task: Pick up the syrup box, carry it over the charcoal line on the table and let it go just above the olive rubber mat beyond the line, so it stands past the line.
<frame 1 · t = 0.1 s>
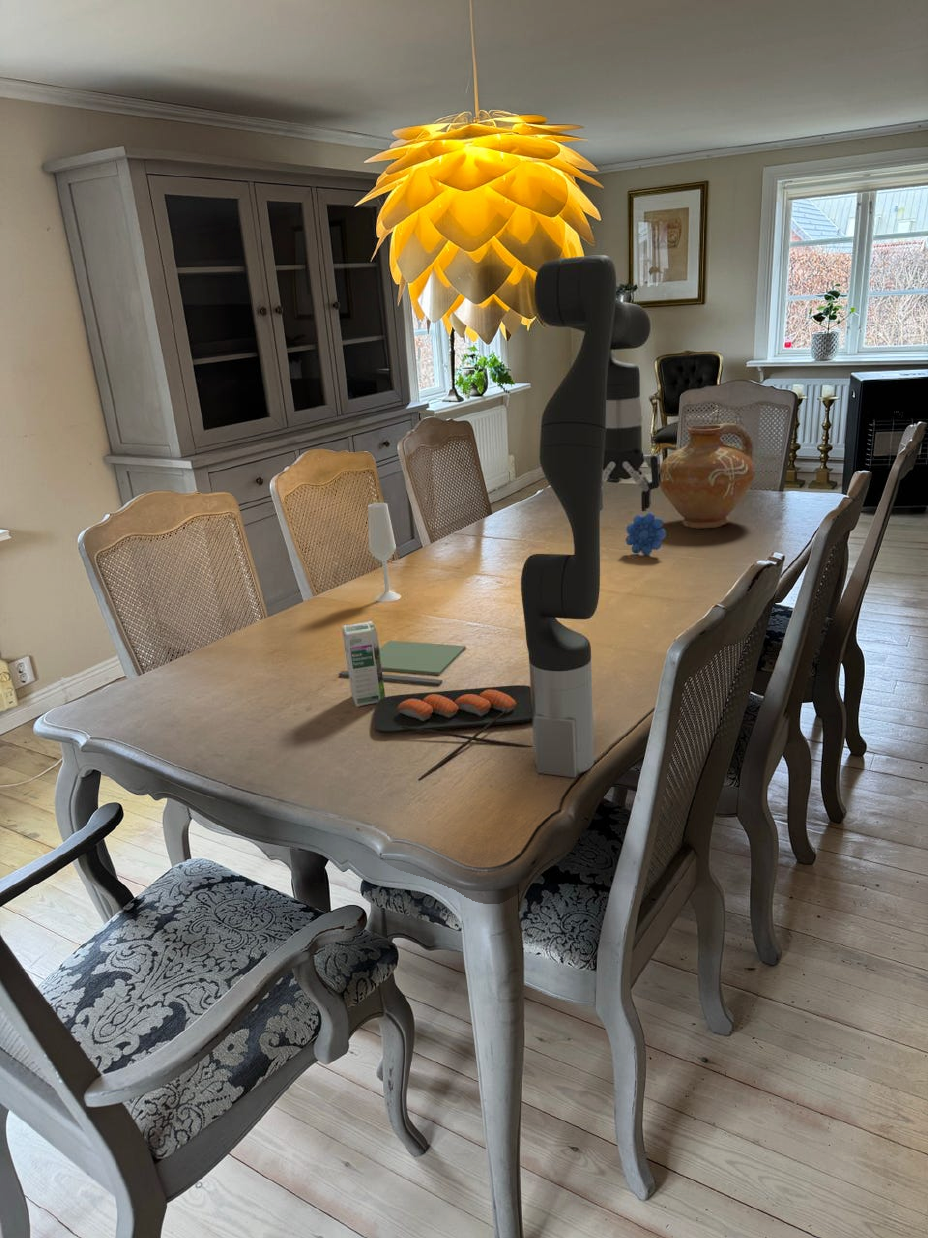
hand: (622, 510, 163), 29 cm above the table, tool pointing down, fingers open, 8 cm apart
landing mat: (413, 658, 179), on the table
syrup box: (368, 699, 162), on the table
jug: (704, 524, 263), on the table
sushi plate: (458, 737, 146), on the table
champagne flute: (388, 598, 219), on the table
foul line: (389, 679, 169), on the table
blue bumpy cluster: (647, 555, 237), on the table
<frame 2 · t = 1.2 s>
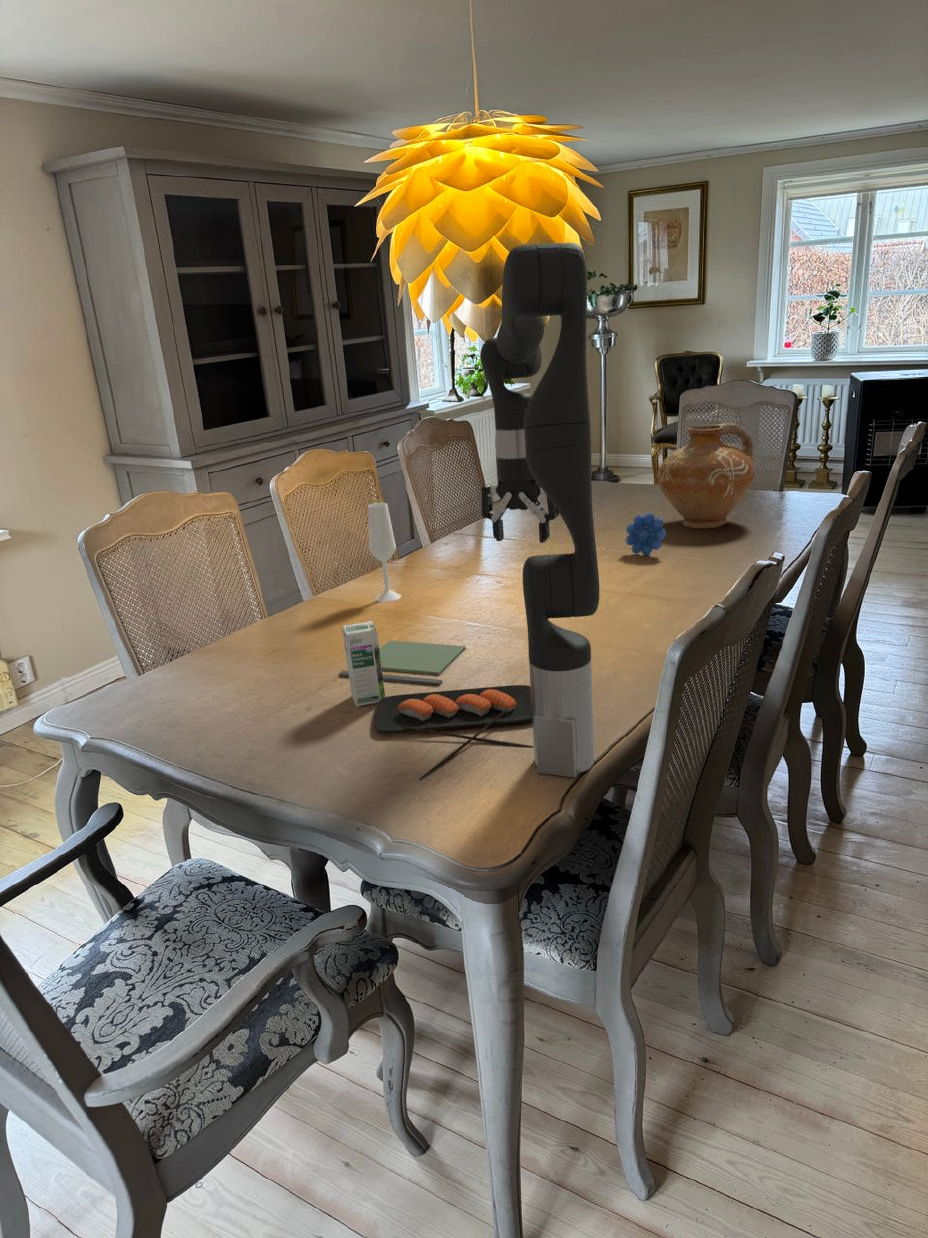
hand: (521, 541, 159), 26 cm above the table, tool pointing down, fingers open, 8 cm apart
nothing on the table moved.
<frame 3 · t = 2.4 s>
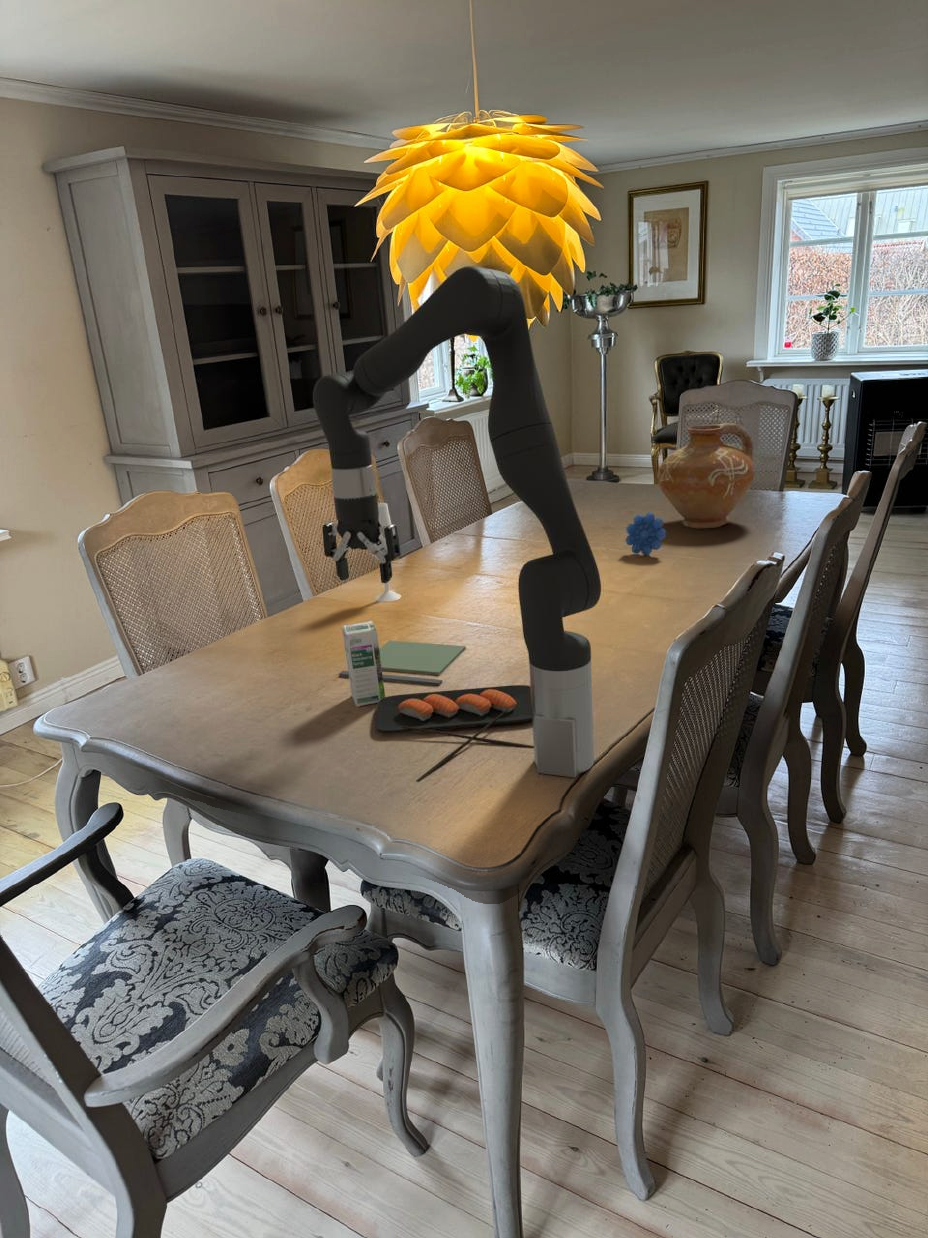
hand: (365, 580, 155), 23 cm above the table, tool pointing down, fingers open, 8 cm apart
nothing on the table moved.
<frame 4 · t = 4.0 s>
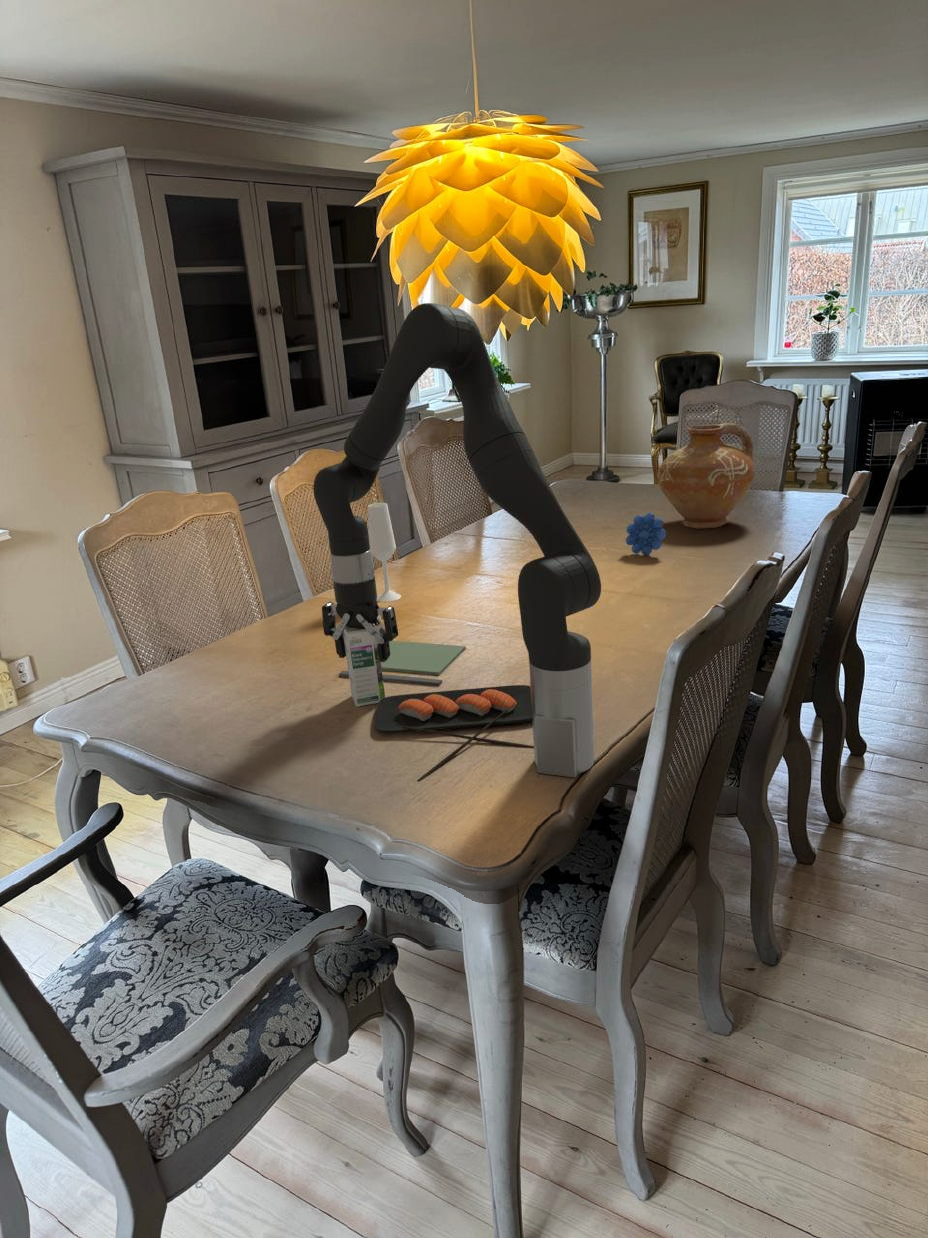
hand: (363, 658, 159), 8 cm above the table, tool pointing down, fingers open, 8 cm apart
nothing on the table moved.
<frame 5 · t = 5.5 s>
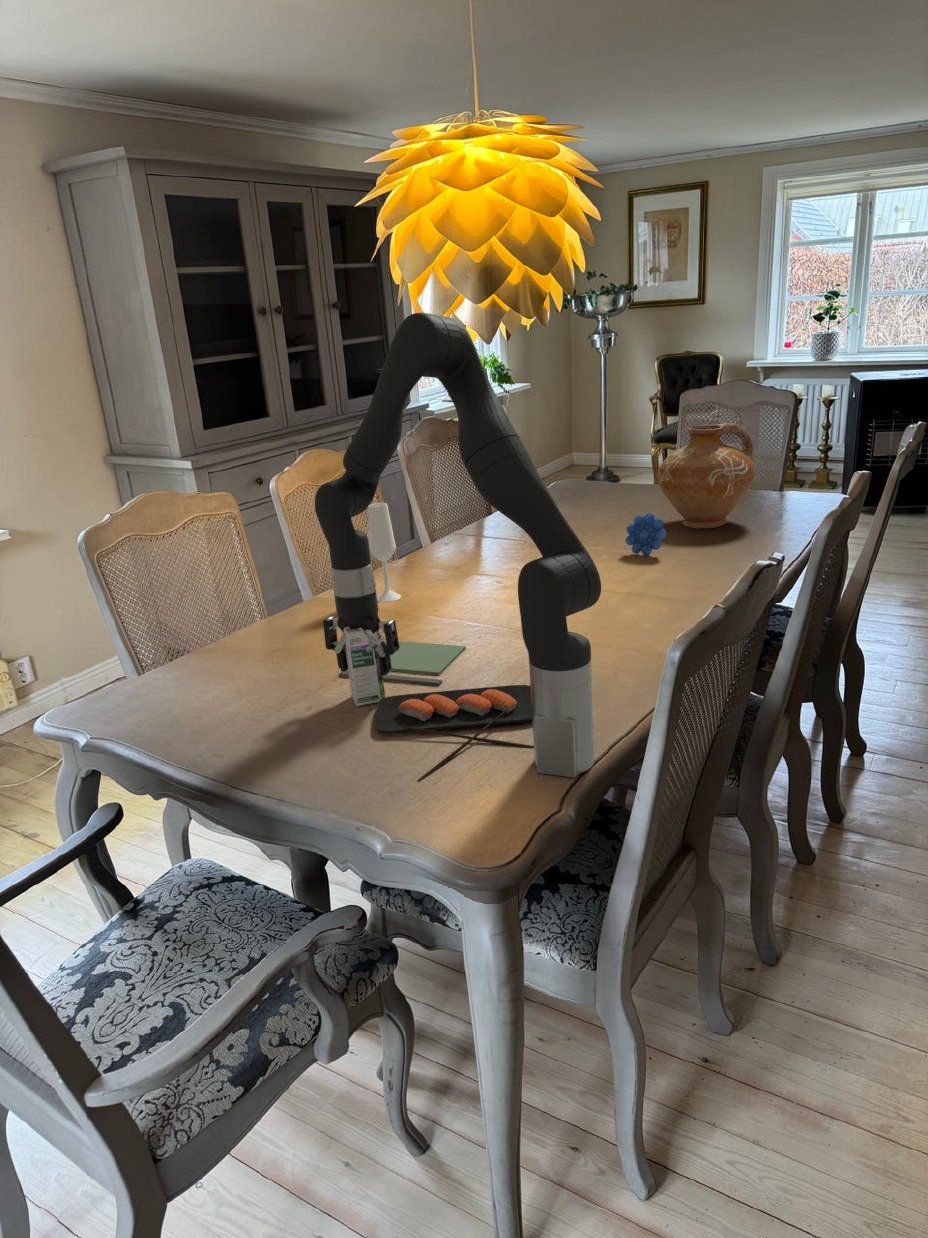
hand: (365, 672, 160), 5 cm above the table, tool pointing down, fingers closed on syrup box, 8 cm apart
syrup box: (368, 699, 162), on the table, touching gripper
everything else where it was.
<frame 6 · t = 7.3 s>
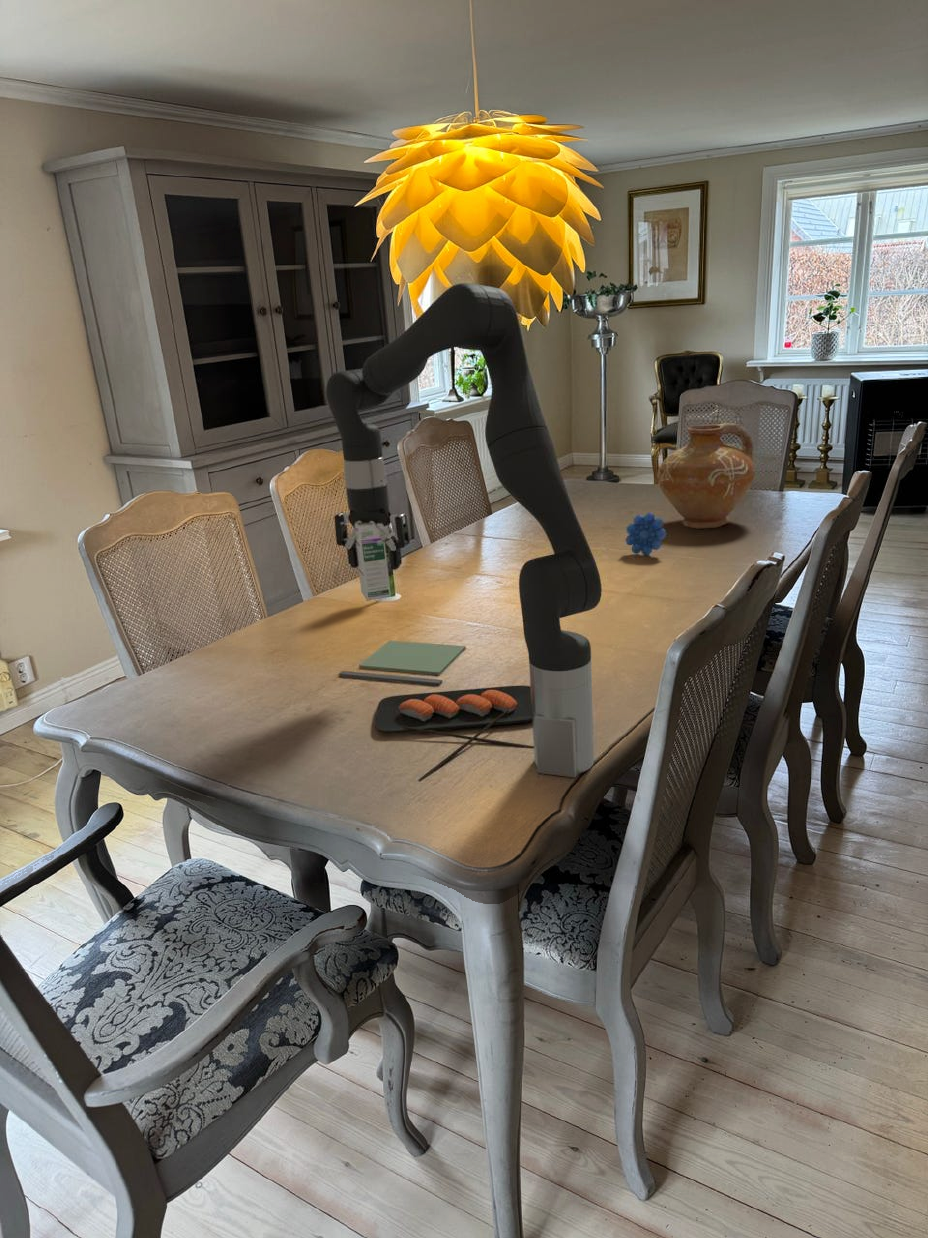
hand: (375, 567, 163), 23 cm above the table, tool pointing down, fingers closed on syrup box, 8 cm apart
syrup box: (378, 595, 164), point 17 cm above the table, touching gripper
everything else where it was.
when the fingers open (8 cm above the table, at t = 11.1 s): syrup box drops 2 cm, resting on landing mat.
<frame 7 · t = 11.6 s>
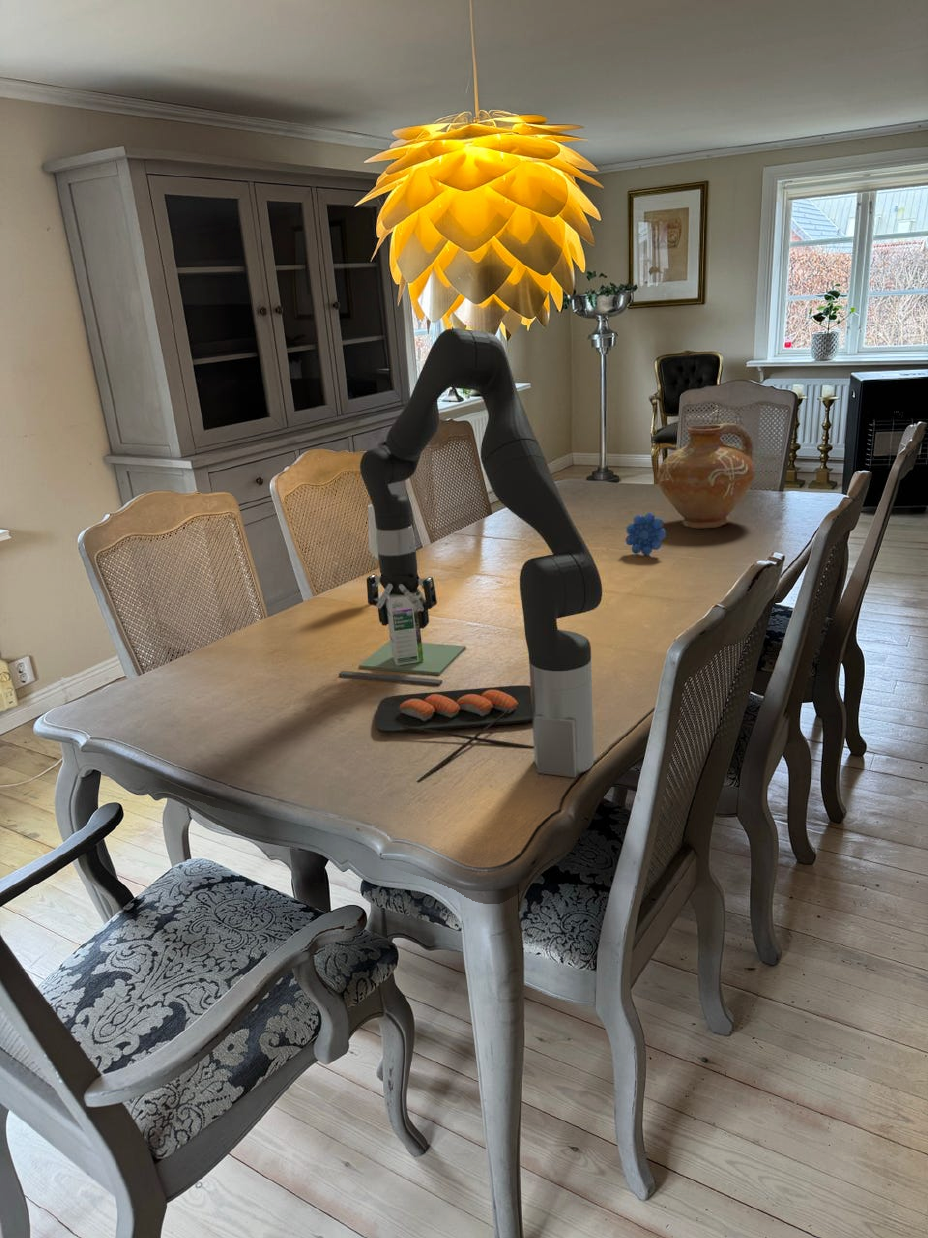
hand: (404, 625, 174), 8 cm above the table, tool pointing down, fingers open, 8 cm apart
syrup box: (407, 660, 177), resting on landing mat, touching gripper
everything else where it was.
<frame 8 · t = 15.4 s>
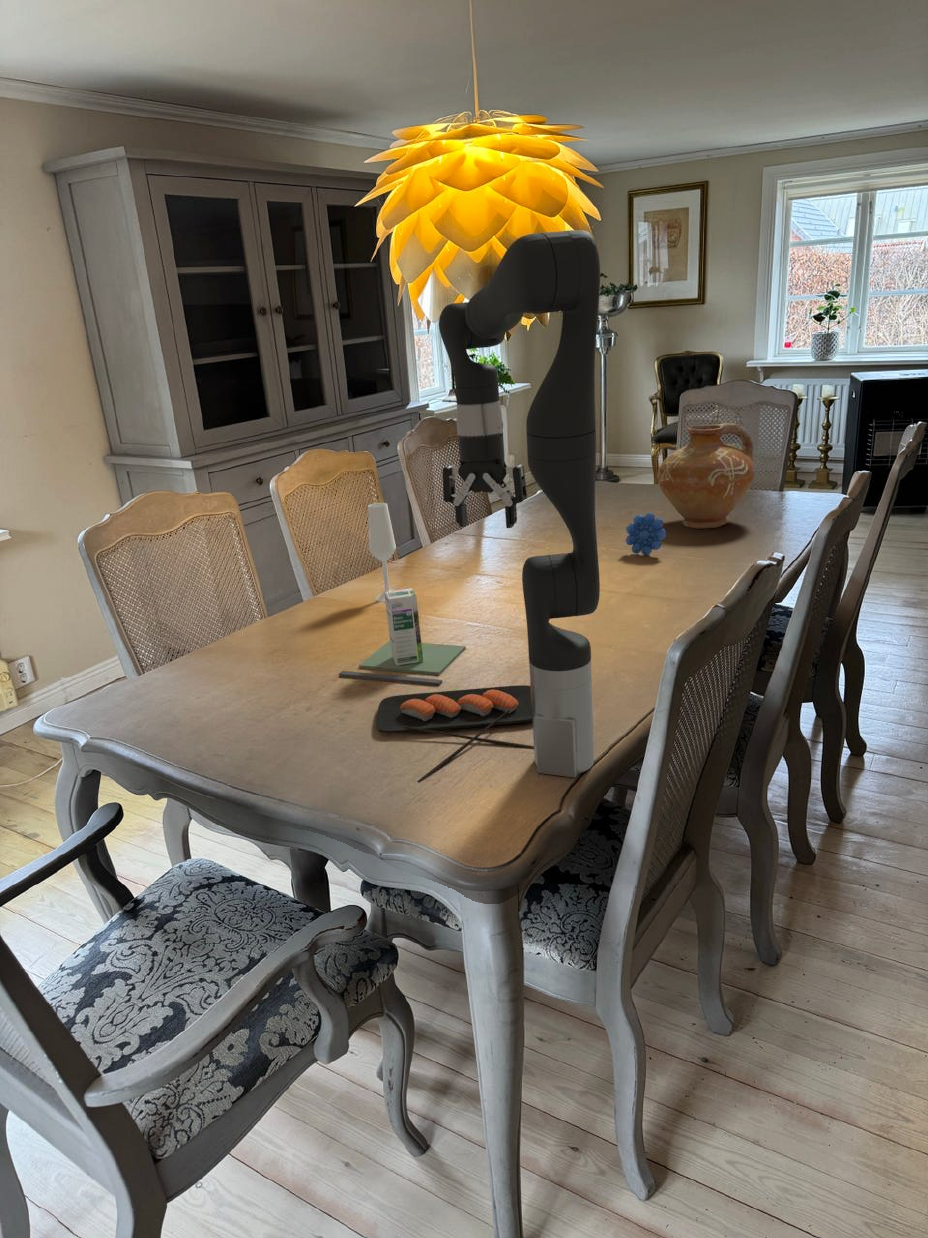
hand: (486, 526, 147), 32 cm above the table, tool pointing down, fingers open, 8 cm apart
syrup box: (407, 660, 177), resting on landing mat
everything else where it was.
at the end: syrup box inside the target area (2.2 cm from its centre), resting on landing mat; the gripper is holding nothing; syrup box tilted 0° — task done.
